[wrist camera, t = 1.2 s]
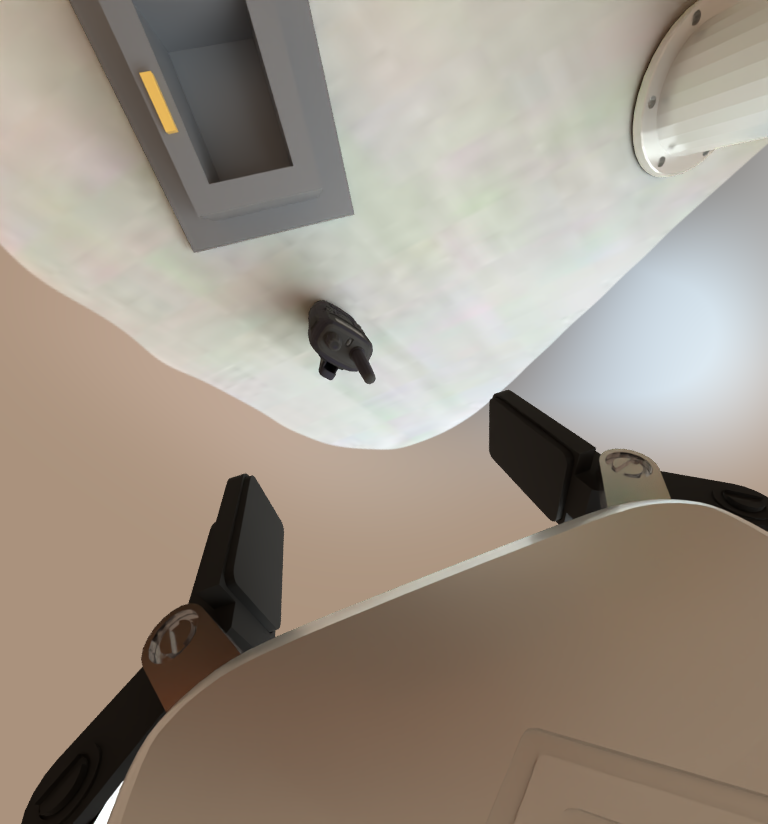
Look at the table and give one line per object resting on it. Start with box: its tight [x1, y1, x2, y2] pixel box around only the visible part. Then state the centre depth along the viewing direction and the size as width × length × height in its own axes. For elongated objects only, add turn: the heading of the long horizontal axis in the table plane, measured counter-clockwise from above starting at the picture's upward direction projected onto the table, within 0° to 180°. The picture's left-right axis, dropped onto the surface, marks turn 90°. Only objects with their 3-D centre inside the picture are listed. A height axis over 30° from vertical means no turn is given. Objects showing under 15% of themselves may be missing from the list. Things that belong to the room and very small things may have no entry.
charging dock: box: [69, 0, 354, 252], centre depth 19 cm, size 14×14×6 cm
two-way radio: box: [308, 301, 376, 384], centre depth 25 cm, size 6×4×15 cm
